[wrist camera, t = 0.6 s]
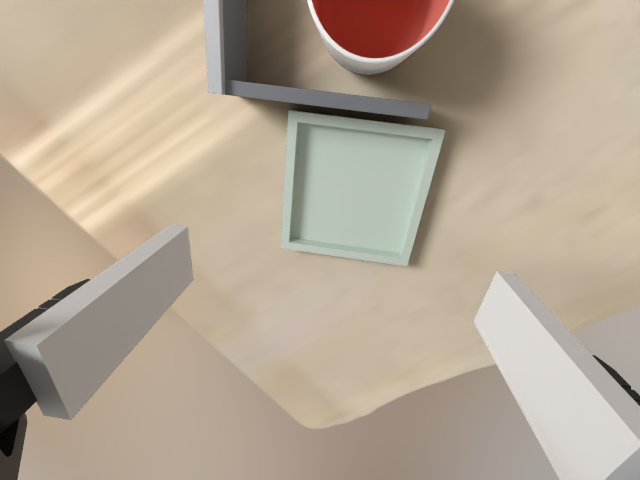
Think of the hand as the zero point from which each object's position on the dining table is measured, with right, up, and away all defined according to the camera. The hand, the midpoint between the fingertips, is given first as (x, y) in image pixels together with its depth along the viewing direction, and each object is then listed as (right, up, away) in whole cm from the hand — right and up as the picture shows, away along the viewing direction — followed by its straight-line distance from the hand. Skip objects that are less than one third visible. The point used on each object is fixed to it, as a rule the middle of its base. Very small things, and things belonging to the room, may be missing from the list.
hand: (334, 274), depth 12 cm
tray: (+3, +7, +22) cm, 23 cm away
